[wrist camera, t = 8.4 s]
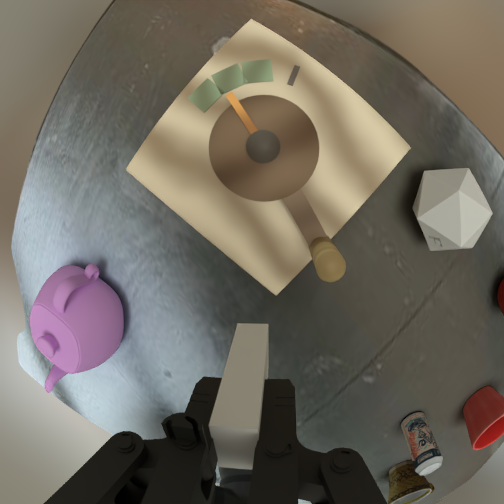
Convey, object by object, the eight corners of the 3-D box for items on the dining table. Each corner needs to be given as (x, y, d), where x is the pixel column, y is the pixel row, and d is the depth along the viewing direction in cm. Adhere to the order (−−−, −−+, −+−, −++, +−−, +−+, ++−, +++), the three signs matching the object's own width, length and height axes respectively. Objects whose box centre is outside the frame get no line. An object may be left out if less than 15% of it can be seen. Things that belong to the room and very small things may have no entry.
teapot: (71, 233, 33) (10, 258, 22) (147, 282, 33) (96, 330, 22) (56, 331, 39) (15, 367, 27) (115, 375, 39) (82, 421, 28)
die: (395, 165, 27) (406, 231, 21) (463, 139, 21) (496, 201, 15) (419, 216, 31) (429, 282, 25) (478, 196, 25) (501, 261, 19)
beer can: (424, 406, 36) (446, 456, 24) (423, 421, 37) (441, 468, 25) (400, 416, 37) (418, 469, 25) (399, 430, 38) (415, 480, 26)
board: (276, 291, 32) (276, 296, 31) (130, 169, 29) (125, 169, 28) (406, 148, 26) (411, 147, 24) (252, 23, 23) (251, 18, 22)
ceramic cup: (374, 478, 44) (379, 510, 34) (398, 457, 41) (407, 492, 31) (414, 474, 43) (422, 503, 34) (438, 452, 40) (449, 483, 31)
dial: (192, 126, 26) (164, 115, 19) (276, 76, 24) (274, 48, 17) (282, 276, 30) (282, 307, 23) (366, 230, 27) (390, 250, 21)
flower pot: (449, 425, 37) (464, 458, 28) (465, 389, 34) (486, 424, 25) (486, 409, 36) (503, 437, 26) (503, 372, 33) (525, 401, 24)
